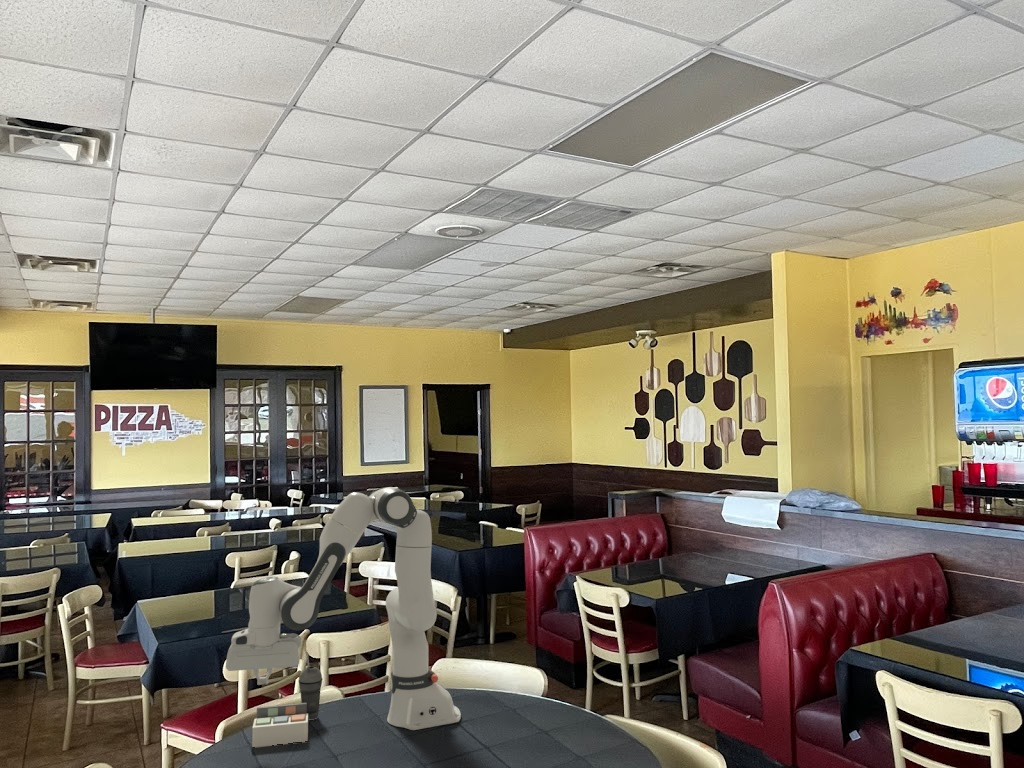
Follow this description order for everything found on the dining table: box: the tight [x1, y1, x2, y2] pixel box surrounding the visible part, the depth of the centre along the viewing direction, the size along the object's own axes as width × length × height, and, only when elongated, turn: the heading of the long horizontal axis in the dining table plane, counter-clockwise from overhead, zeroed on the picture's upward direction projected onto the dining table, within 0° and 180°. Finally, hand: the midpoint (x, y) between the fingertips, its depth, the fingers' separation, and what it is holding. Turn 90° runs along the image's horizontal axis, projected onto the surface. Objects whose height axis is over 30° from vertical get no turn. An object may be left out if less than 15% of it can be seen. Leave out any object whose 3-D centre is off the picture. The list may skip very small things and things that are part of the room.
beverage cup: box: [298, 651, 323, 720], centre depth 236 cm, size 7×7×20 cm
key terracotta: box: [292, 714, 305, 722], centre depth 220 cm, size 4×4×2 cm
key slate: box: [274, 716, 288, 724], centre depth 219 cm, size 4×4×2 cm
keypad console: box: [251, 702, 309, 748], centre depth 220 cm, size 15×9×8 cm, turn 104°
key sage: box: [256, 717, 271, 726], centre depth 218 cm, size 4×4×2 cm
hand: (262, 683), depth 219 cm, fingers closed
